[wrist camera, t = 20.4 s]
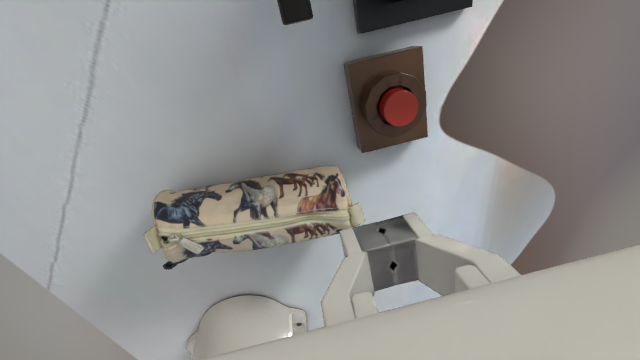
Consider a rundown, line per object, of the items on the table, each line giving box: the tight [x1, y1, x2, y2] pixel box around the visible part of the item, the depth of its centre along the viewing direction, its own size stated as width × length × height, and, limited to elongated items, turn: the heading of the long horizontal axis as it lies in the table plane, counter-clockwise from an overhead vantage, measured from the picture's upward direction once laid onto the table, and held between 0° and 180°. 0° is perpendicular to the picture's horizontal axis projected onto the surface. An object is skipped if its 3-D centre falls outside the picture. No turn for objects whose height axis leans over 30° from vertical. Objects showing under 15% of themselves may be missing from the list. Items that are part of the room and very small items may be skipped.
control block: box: [344, 46, 428, 153], centre depth 34 cm, size 10×8×4 cm
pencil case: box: [144, 166, 365, 269], centre depth 34 cm, size 22×8×10 cm, turn 96°
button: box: [379, 88, 418, 126], centre depth 31 cm, size 4×4×2 cm
